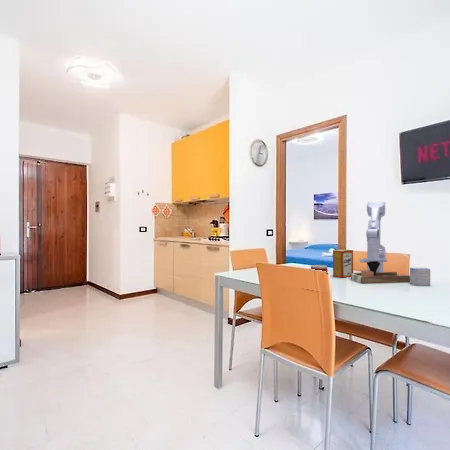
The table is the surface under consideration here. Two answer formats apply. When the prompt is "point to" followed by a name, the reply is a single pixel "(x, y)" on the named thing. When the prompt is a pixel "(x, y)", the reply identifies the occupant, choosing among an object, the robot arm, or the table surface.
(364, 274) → the block
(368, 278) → the wooden frame
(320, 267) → the canned food
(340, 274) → the baking soda box
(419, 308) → the table surface
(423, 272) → the medicine box
